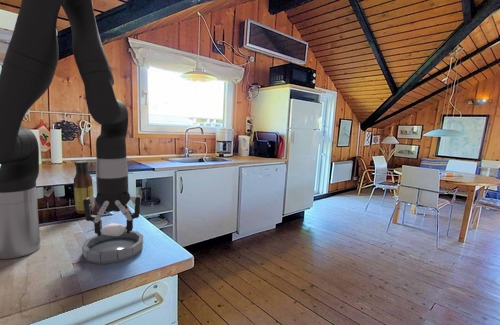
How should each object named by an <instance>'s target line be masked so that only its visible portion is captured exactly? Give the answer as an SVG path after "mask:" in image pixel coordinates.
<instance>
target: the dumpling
mask: <svg viewBox="0 0 500 325" xmlns="http://www.w3.org/2000/svg"><path fill="white" fill-rule="evenodd" d="M126 230H127V225H125V224H121V223H114V222H111V223H109V224H108V223H107V225H105V226H102V229H101V230H100V232H101V233H102V234H104V235H108V236H109V235H110V236H120V235H122V234H123V233H124V232H125V231H126Z"/></svg>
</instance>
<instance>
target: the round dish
mask: <svg viewBox="0 0 500 325" xmlns="http://www.w3.org/2000/svg"><path fill="white" fill-rule="evenodd" d="M143 248H144V235H143V234H142V233H140V232H139V231H137V230H132V231H130V233H127V230H126V231H125V232H124V233H123V234H122V235H120V236H110V235H109V236H108V235H104V234H101V236H98V235H97V234H95V235H93V236H92V237H89V238H88V239H86V240H85V241H84V242H83V244H82V245H81V250H82V251H81V252H82V255H83V259H84V260H85V261H86V262H88V263H90V264H95V265H109V264H117V263H121V262H124V261H128V260H129V259H133V258H134V257H135V256H137V255H138V254H140V253H141V252H142V250H143Z"/></svg>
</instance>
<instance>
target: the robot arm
mask: <svg viewBox="0 0 500 325" xmlns="http://www.w3.org/2000/svg"><path fill="white" fill-rule="evenodd" d="M61 7H62V10H63V11H64V13H65V15H66V17H67V19H68V22H69V25H70V30H71V38H72V39H71V40H72V41H71V43H72V53H73V58H74V62H75V64H76V66H77V67H76V68H77V70H78V73H79V75H80V78H81V81H82V83H83V86H84V95H85V101H86V106H87V109H88V112H89V114H90V116H91V118H92V119H93V121H95V123H98V125H100V134H99V135H98V136H97V137H96V139H95V153H96V154H95V155H96V159H95V160H96V161H95V177H96V179H95V180H96V181H95V182H96V195H95V196H94V197H93V198H90V197H87V198H85V199H84V200H83V205H84V211H85V214H84V216H85V221H86V222H93V226H94V234H95V235H98V236H101V234H102V233H101V232H100V230H101V229H102V228H103V225H102V224H103V221H102V217H103V215H104V214H105V212H106V213H112V212H121V214H122V215H123V216H124V217H125V218H126V226H127V233H130V231H133V228H134V219H138V218H139V217H140V214H141V204H142V203H141V200H142V196H141V195H140V194H137V195H131V194H130V192H129V168H128V167H129V166H128V160H127V143H126V141H127V140H126V139H127V136H128V127H129V111H128V108H127V106H126V105H125V103H124V102H123V101H121V100H120V99H117V97H116V95H115V91H114V87H113V86H114V85H115V79H114V75H113V71H112V69H111V67H110V64H109V60H108V58H107V54H106V52H105V48H104V46H103V43H102V40H101V36H100V33H99V29H98V24H97V20H96V16H95V11H94V6H93V0H21V3H20V7H19V10H18V14H17V18H16V22H15V25H14V29H13V32H12V36H11V39H10V41H9V44H8V46H7V48H6V53H5V55H4V59H3V62H2V66H1V71H0V260H8V259H16V258H21V257H25V256H27V255H30V254H33V253H35V252H36V251H38V250H39V249H40V247H41V236H40V221H39V220H40V219H39V208H38V207H39V206H38V194H37V192H38V191H37V179H38V176H39V173H40V152H39V151H40V147H39V142H38V138H37V136H36V135H35V133H34V132H33V131H32V130H31V129H29V128H28V127H25V126H22V122H23V120H24V118H25V115H26V114H27V112H28V111H29V109H30V108H32V107H33V105H34V104H35V103H36V102H38V100H40V98H41V97H42V96H43V95H44V94H45V92H46V91H47V90H48V89H49V87H50V86H51V84H52V82H53V80H54V77H55V74H56V71H57V68H58V65H59V64H58V63H59V58H60V57H59V56H60V54H59V52H60V51H59V41H58V33H57V32H58V31H57V24H58V22H57V21H58V17H59V13H60V10H61ZM129 201H131V202H132V204H134V212H133V213H132V212H131V209H130V208H129V206H128V203H129ZM93 204H97V205H98V206H99V207H100V208H99V211H98V212H97V214H96V215H95V214H94V211H93V210H92V205H93Z"/></svg>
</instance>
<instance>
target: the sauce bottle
mask: <svg viewBox="0 0 500 325" xmlns="http://www.w3.org/2000/svg"><path fill="white" fill-rule="evenodd" d="M74 165H75V171H76V172H75V175H74V178H73V193H74V194H73V196H74V203H75V204H74V205H75V210H76V213H77V214H79V215H85V211H84V205H83V200H84V199H85V198H87V197H90V198H93V197H95V194H94V184H93V177H92V176H91V175H90V173H89V167H88V166H89V162H88V160H77V161H75V162H74ZM95 204H96V203H94V204H93V205H92V210H93V212H94V211H95Z"/></svg>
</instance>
